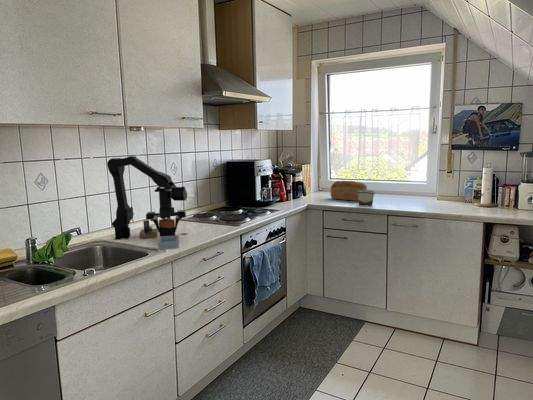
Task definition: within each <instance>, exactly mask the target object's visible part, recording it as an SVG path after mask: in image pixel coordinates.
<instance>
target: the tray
mask: <svg viewBox="0 0 533 400" xmlns="http://www.w3.org/2000/svg"><path fill="white" fill-rule="evenodd" d="M179 243H180V236H179V234H177V235H176V234H175V236H160V235H159V239H158V242H157V244H158V245H157V246H158V247H157V248H158V250H167V249H178V248H179V246H180V245H179Z"/></svg>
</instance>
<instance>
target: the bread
mask: <svg viewBox="0 0 533 400" xmlns="http://www.w3.org/2000/svg"><path fill="white" fill-rule="evenodd" d="M360 190H368V187H367V185H366V184H365V183H363V182H361V181H356V180H355V181H354V180H337V181H335V182H333V183H332V185H331V186H330V197H331V199H334V200H345V201H354V202H358V194H357V192H358V191H360Z"/></svg>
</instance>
